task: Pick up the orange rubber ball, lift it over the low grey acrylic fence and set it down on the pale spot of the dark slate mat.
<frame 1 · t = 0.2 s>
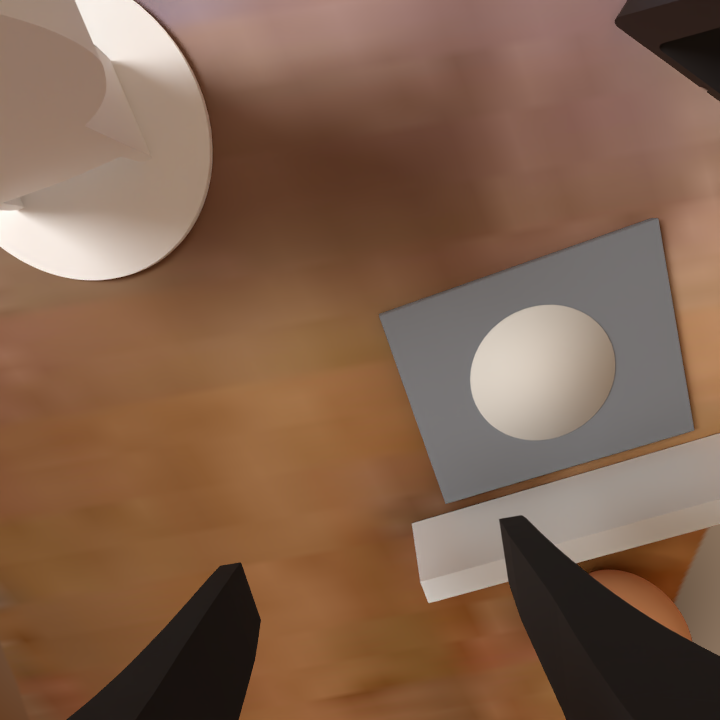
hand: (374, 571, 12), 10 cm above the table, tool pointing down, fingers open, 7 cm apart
fence: (568, 488, 23), on the table
mat: (537, 371, 21), on the table
ball: (622, 632, 22), point 3 cm above the table
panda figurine: (84, 137, 19), on the table
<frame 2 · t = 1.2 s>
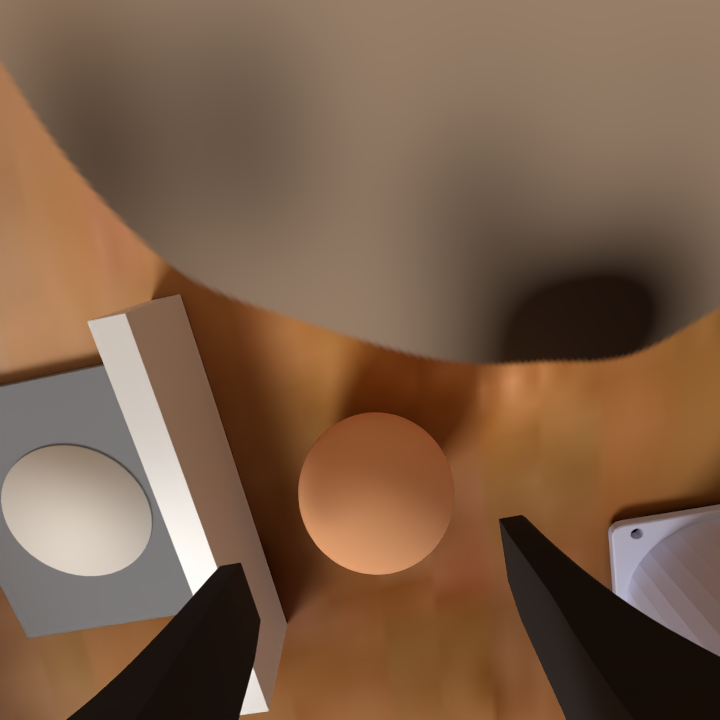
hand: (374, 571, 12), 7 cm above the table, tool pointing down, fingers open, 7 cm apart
fence: (226, 480, 19), on the table
mat: (85, 505, 20), on the table
ball: (375, 489, 16), point 3 cm above the table
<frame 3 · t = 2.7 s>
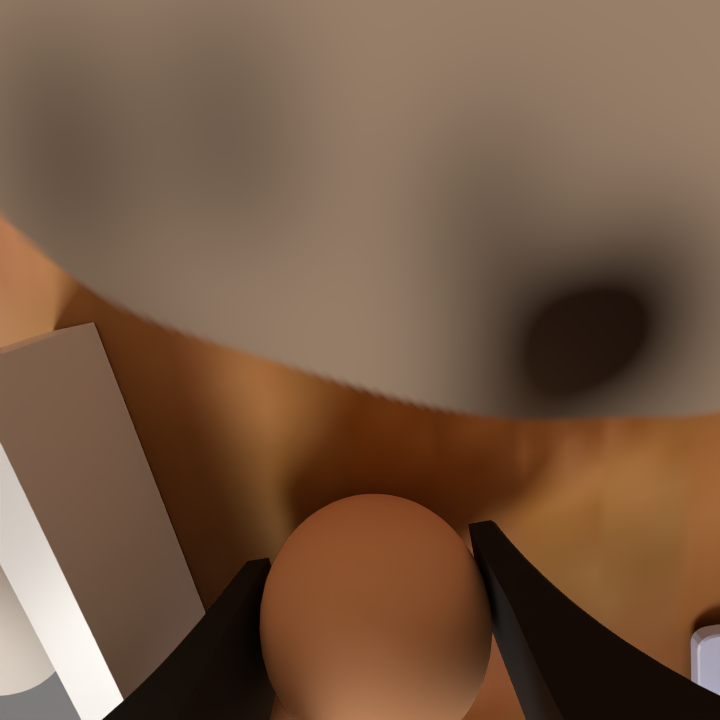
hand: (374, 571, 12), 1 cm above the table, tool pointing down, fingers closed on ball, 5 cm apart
fence: (170, 571, 14), on the table
ball: (374, 611, 11), point 3 cm above the table, touching gripper
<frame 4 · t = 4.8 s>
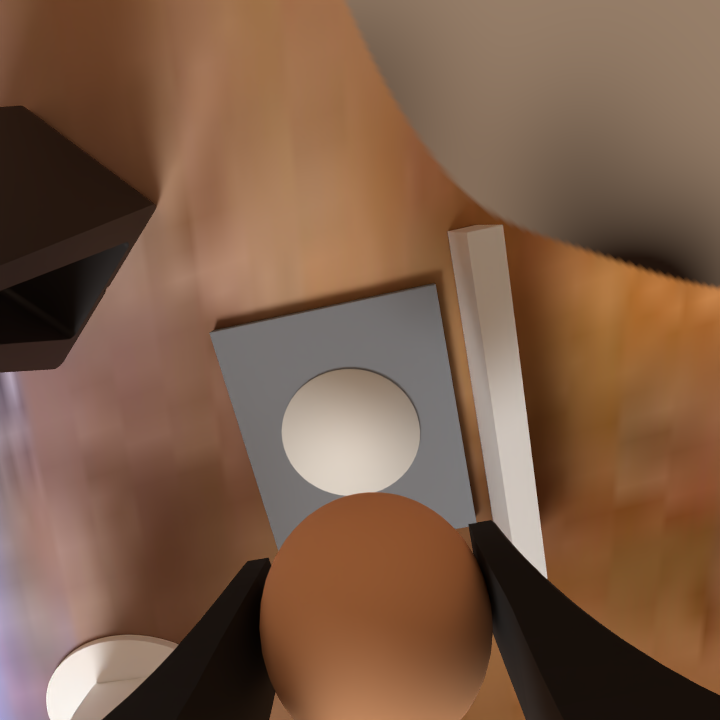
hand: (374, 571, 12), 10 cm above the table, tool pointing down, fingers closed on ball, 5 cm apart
fence: (488, 403, 21), on the table
mat: (351, 429, 22), on the table
phone stand: (49, 247, 20), on the table
ball: (375, 609, 11), point 11 cm above the table, touching gripper
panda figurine: (145, 702, 27), on the table
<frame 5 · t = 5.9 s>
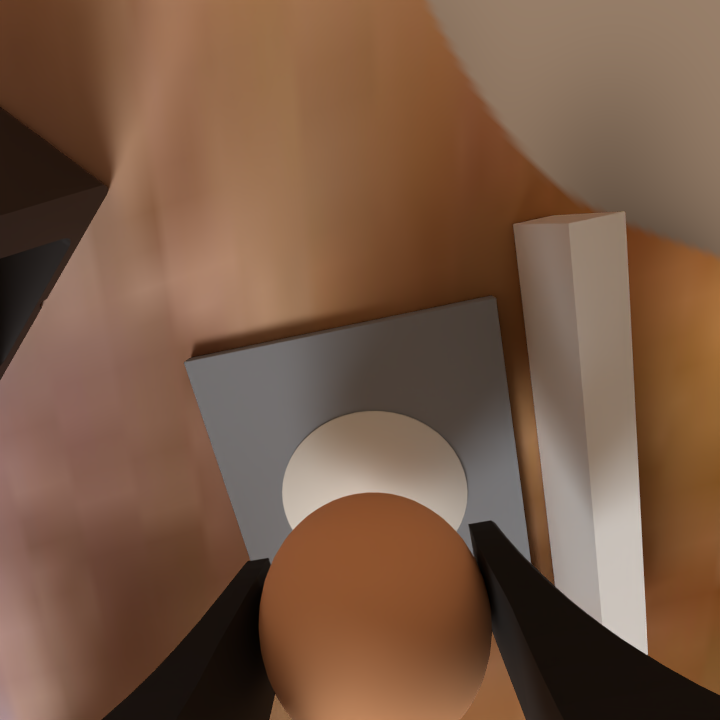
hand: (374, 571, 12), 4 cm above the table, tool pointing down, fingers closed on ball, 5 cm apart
fence: (557, 455, 16), on the table
mat: (374, 488, 16), on the table
ball: (374, 609, 11), point 5 cm above the table, touching gripper
when the fingers open (3 cm above the table, at t = 7.1 s): ball drops 1 cm, resting on mat.
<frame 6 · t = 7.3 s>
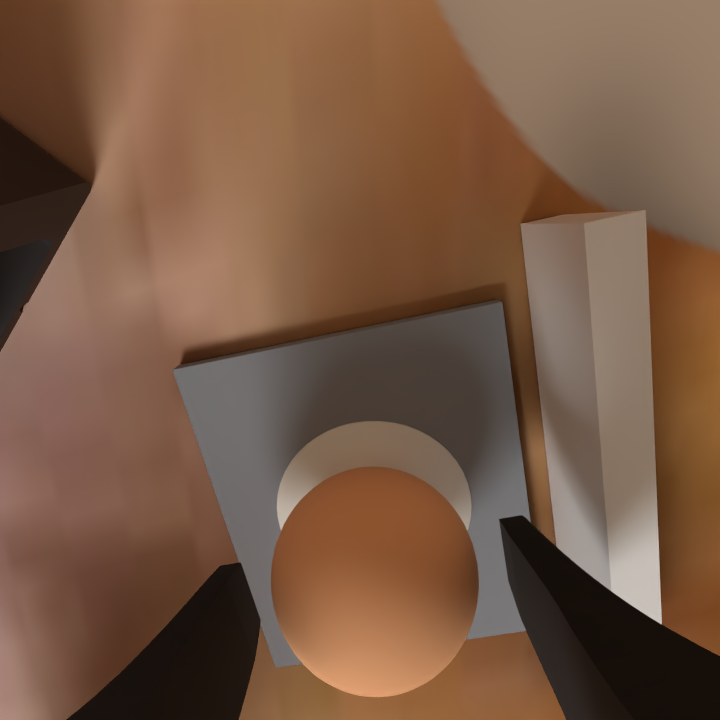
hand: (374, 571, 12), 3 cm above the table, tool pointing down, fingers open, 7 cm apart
fence: (566, 467, 15), on the table
mat: (373, 500, 16), on the table
ball: (374, 570, 12), point 3 cm above the table, touching mat
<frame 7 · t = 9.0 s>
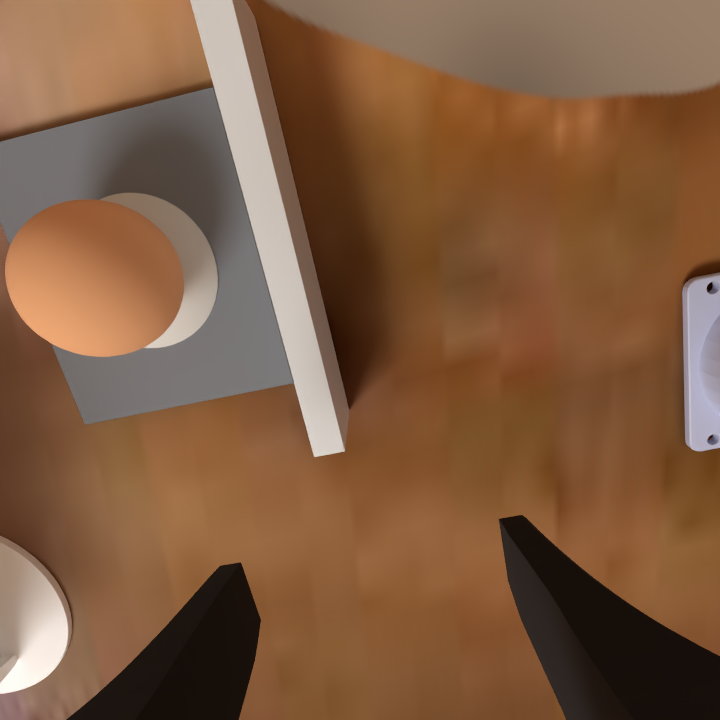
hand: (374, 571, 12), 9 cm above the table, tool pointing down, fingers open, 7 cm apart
fence: (293, 239, 19), on the table
mat: (147, 272, 20), on the table
ball: (102, 280, 16), point 3 cm above the table, touching mat
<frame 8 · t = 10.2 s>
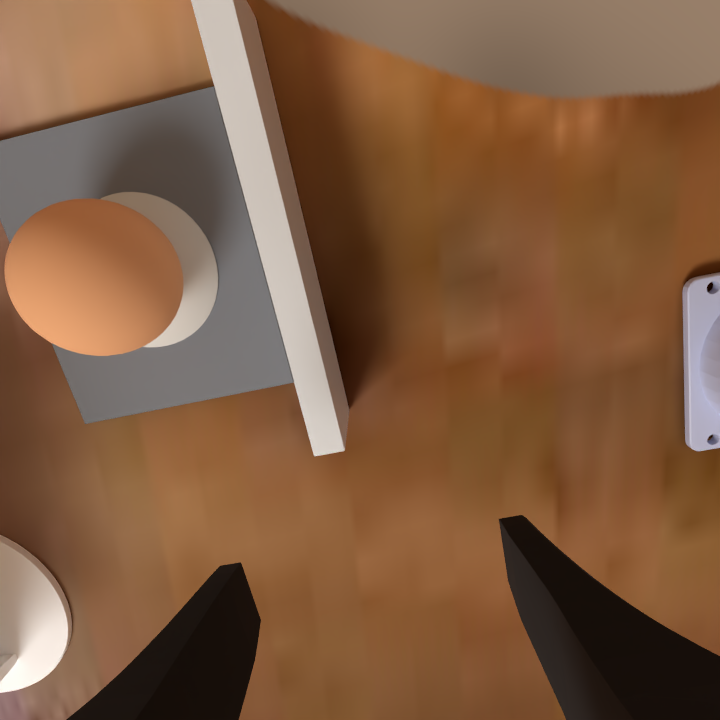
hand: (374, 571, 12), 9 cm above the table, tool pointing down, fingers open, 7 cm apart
fence: (293, 239, 19), on the table
mat: (147, 271, 20), on the table
ball: (101, 279, 16), point 3 cm above the table, touching mat
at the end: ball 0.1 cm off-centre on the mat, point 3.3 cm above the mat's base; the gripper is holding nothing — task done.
